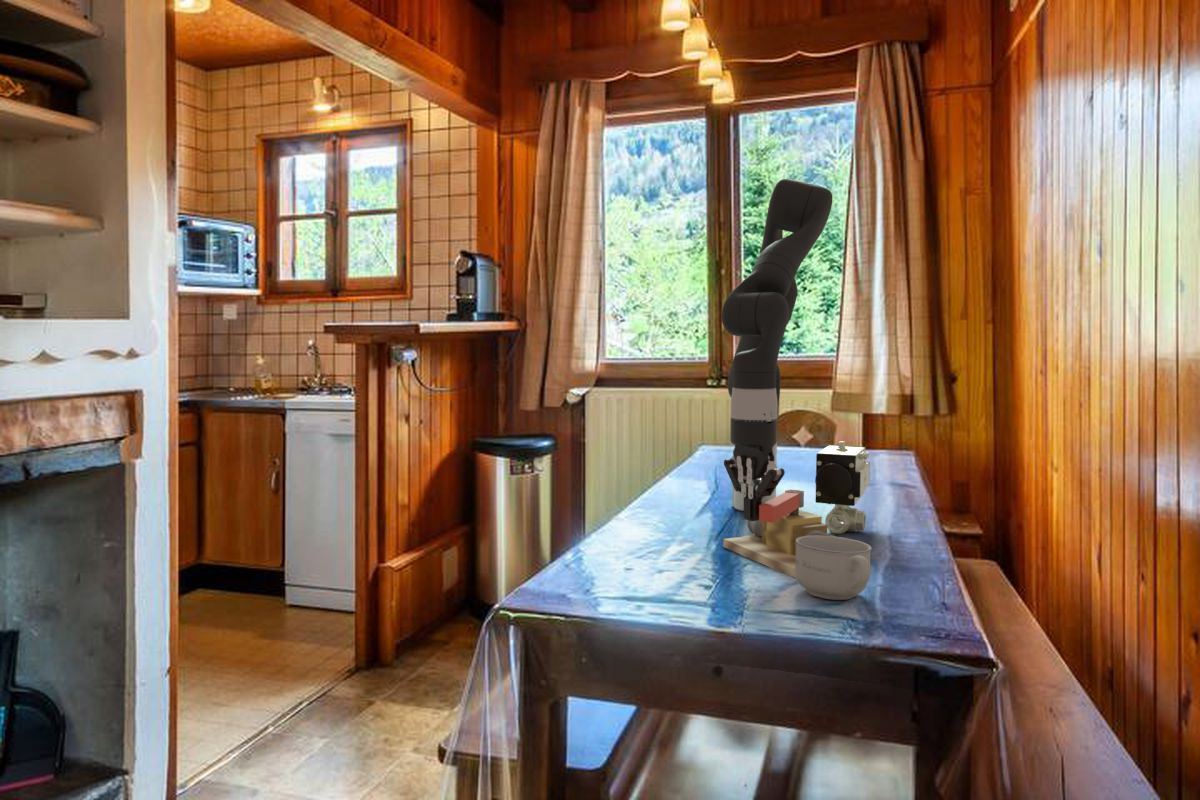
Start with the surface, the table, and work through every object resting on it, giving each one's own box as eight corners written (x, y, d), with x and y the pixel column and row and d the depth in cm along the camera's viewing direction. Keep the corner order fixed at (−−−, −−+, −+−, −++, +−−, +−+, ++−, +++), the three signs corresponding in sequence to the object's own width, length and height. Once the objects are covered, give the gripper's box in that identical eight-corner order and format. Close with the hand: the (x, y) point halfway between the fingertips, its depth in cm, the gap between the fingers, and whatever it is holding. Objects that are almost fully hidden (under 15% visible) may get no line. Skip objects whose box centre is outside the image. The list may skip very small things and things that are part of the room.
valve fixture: (723, 546, 142) (723, 498, 142) (789, 538, 149) (790, 491, 148) (797, 578, 123) (798, 522, 123) (869, 567, 129) (871, 514, 129)
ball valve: (859, 543, 145) (861, 448, 143) (812, 538, 148) (814, 446, 147) (871, 523, 161) (873, 437, 159) (829, 519, 164) (831, 435, 163)
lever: (788, 503, 137) (788, 489, 137) (805, 505, 136) (806, 491, 136) (756, 520, 124) (756, 505, 124) (776, 523, 123) (776, 507, 122)
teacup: (784, 583, 121) (785, 533, 120) (852, 582, 122) (853, 531, 121) (817, 615, 107) (818, 558, 106) (893, 613, 108) (895, 556, 107)
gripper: (710, 413, 131) (709, 514, 132) (763, 420, 119) (761, 531, 121) (745, 411, 135) (744, 509, 136) (799, 418, 123) (797, 525, 125)
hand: (752, 519), depth 128 cm, fingers closed
